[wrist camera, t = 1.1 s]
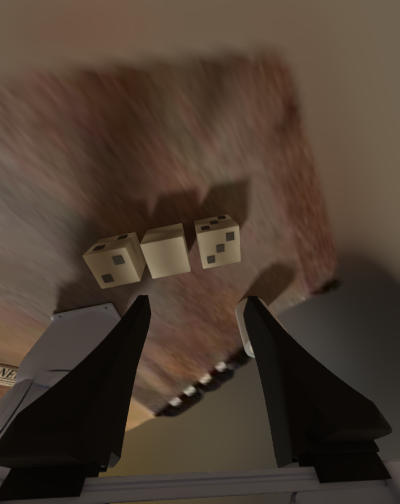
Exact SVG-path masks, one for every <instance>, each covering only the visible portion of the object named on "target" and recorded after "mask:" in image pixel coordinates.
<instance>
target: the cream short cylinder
mask: <svg viewBox="0 0 400 504" xmlns="http://www.w3.org/2000/svg"><path fill="white" fill-rule="evenodd" d="M247 299H248V298H246V299H244V300H242V301H241V302H239V303H238V304H237V306H236V308H235V314H236V318H237V322H238V326H239V329H240V333H241V337H242V341H243V345H244V348H245V351H246V353H247V354H248V355H249V356H251V357H253V358H255V356H254V353H253V350H252V347H251V343H250V340H249V337H248V334H247V331H246V327H245V323H244V317H243V312H244V309H245V305H246V302H247ZM258 299H259V300H260V301H261V302H262V304H263V305H264V306H265V307H266V308H267V310H268V311H269V312H270V313H271V315H272V316H273V317H274V318H275V319H276V320H277V321H278V323H279V324H280V325H281V326H282V327H283V325H282V324H281V323H280V322H279V320H278V319H277V317H276V316H275V315H274V314H273V312H272V311H271V310H270V308H269V307H268V306H267V305H266V303H265V302H264V301H263V300H262V299H261V298H258ZM283 328H284V327H283ZM284 329H285V328H284ZM285 330H286V329H285ZM286 331H287V330H286ZM288 334H289V333H288Z"/></svg>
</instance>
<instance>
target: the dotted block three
mask: <svg viewBox="0 0 400 504" xmlns="http://www.w3.org/2000/svg"><path fill="white" fill-rule="evenodd" d="M194 226H195V231H196V237H197V242H198V248H199V253H200V257H201V261H202V265H203V269H205V268H210V267H215V266H220V265H225V264H230V263H235V262H240V261H241V258H240V236H239V225H238V224H237V223H236V222H235V221H234V220H233V219H232V218H231V217H230V216H229V215H228V214H227V215H222V216H216V217H211V218H206V219H201V220H196V221H194Z"/></svg>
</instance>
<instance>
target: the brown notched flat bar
mask: <svg viewBox="0 0 400 504" xmlns="http://www.w3.org/2000/svg"><path fill="white" fill-rule="evenodd" d="M17 371H18V368H16V367H11V366H6V365H1V364H0V385H6V386H13V385H14V384H16V374H17Z"/></svg>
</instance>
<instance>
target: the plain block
mask: <svg viewBox="0 0 400 504" xmlns="http://www.w3.org/2000/svg"><path fill="white" fill-rule="evenodd" d="M140 246H141V249H142V251H143V254H144V257H145V259H146V262H147V265H148V267H149V270H150V272H151V275H152V278H153V279H154V278H159V277H164V276H169V275H174V274H179V273H184V272H189V271H191V269H190V260H189V252H188V248H187V243H186V239H185V234H184V230H183V225H182V223H180V224H175V225H169V226H164V227H159V228H154V229H149V230H147V231H146V233H145V235H144V237H143V240H142V242H141V244H140Z"/></svg>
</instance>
